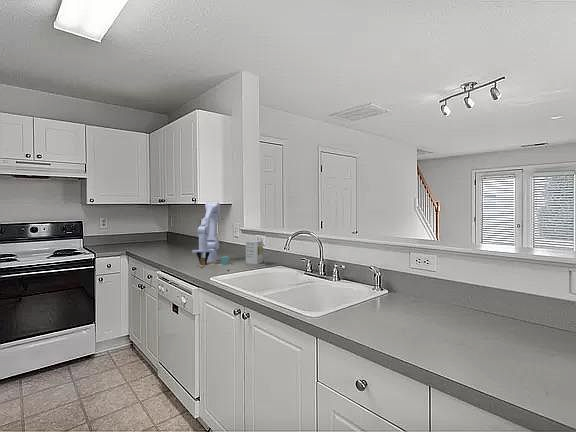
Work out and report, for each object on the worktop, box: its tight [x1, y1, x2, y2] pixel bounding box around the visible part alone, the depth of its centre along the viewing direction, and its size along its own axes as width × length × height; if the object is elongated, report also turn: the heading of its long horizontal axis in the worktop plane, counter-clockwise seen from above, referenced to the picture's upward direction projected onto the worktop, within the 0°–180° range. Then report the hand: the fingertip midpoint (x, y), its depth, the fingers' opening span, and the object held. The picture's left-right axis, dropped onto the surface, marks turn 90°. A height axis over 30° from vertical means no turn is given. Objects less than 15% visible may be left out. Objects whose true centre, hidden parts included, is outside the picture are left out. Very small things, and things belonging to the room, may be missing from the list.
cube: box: [220, 255, 230, 266], centre depth 233 cm, size 5×5×5 cm
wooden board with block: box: [199, 257, 232, 268], centre depth 233 cm, size 20×8×5 cm, turn 96°
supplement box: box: [245, 240, 264, 265], centre depth 240 cm, size 10×9×17 cm
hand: (203, 263), depth 232 cm, fingers closed on wooden board with block, 3 cm apart
